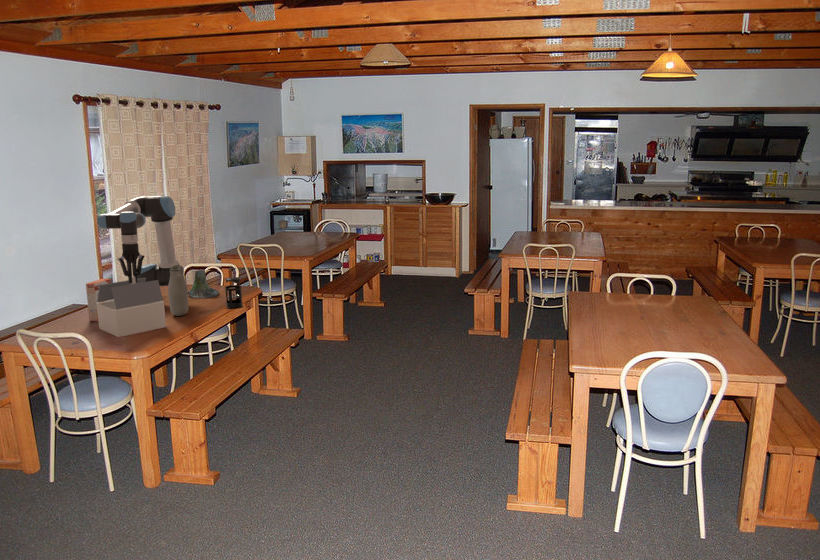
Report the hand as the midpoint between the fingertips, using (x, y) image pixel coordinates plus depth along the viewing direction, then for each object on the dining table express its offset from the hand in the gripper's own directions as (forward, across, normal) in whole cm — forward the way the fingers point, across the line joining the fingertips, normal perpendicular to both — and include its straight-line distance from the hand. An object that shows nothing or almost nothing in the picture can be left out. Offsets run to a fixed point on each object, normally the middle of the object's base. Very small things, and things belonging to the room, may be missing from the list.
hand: (133, 289), depth 348 cm
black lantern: (+21, +60, +5) cm, 64 cm away
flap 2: (+2, 0, -3) cm, 4 cm away
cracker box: (+22, -3, +37) cm, 43 cm away
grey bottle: (+22, +29, +11) cm, 38 cm away
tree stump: (+22, +64, +48) cm, 82 cm away
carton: (+22, 0, +6) cm, 22 cm away
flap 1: (+3, 0, +14) cm, 15 cm away
